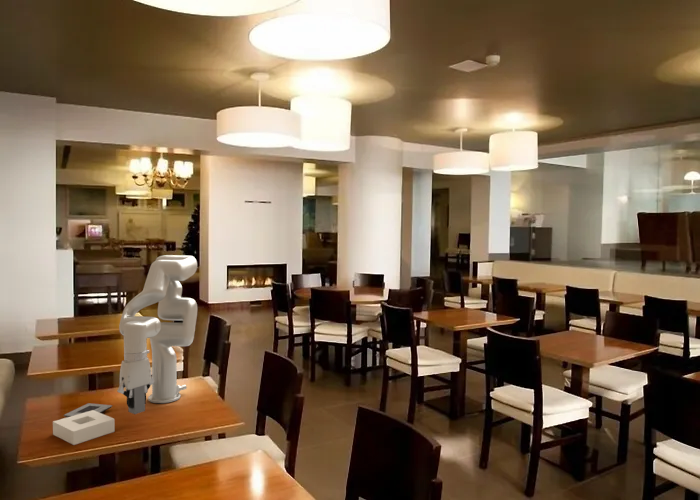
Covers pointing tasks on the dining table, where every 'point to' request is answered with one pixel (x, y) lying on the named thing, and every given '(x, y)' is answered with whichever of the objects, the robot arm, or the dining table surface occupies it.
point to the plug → (138, 400)
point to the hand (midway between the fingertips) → (136, 404)
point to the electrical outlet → (88, 409)
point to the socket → (83, 427)
